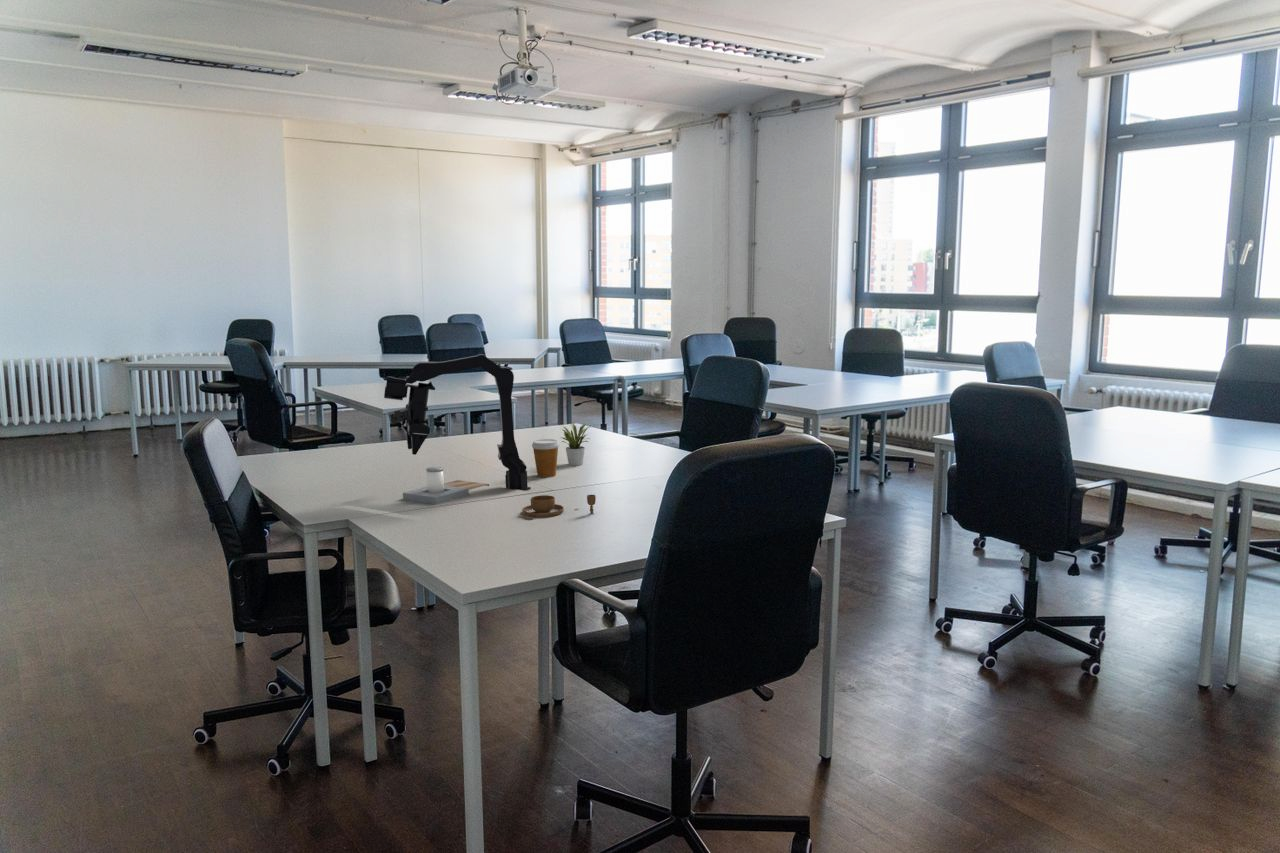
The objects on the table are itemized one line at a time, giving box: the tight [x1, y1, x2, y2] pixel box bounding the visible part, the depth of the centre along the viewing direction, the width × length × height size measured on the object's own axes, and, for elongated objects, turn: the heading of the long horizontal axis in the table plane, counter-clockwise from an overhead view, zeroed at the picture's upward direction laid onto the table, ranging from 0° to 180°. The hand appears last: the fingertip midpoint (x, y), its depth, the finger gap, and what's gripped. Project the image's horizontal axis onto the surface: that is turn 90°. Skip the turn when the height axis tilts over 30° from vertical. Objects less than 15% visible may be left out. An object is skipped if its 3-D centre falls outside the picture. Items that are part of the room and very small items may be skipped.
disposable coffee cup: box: [531, 438, 560, 478], centre depth 314 cm, size 10×10×12 cm
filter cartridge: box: [425, 466, 445, 494], centre depth 279 cm, size 5×5×9 cm
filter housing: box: [402, 485, 470, 505], centre depth 280 cm, size 14×14×3 cm
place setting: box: [518, 494, 597, 520], centre depth 259 cm, size 18×20×6 cm
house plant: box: [559, 422, 596, 466], centre depth 333 cm, size 14×14×16 cm
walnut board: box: [444, 479, 490, 491], centre depth 295 cm, size 14×14×1 cm
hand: (411, 451), depth 283 cm, fingers open, 9 cm apart
